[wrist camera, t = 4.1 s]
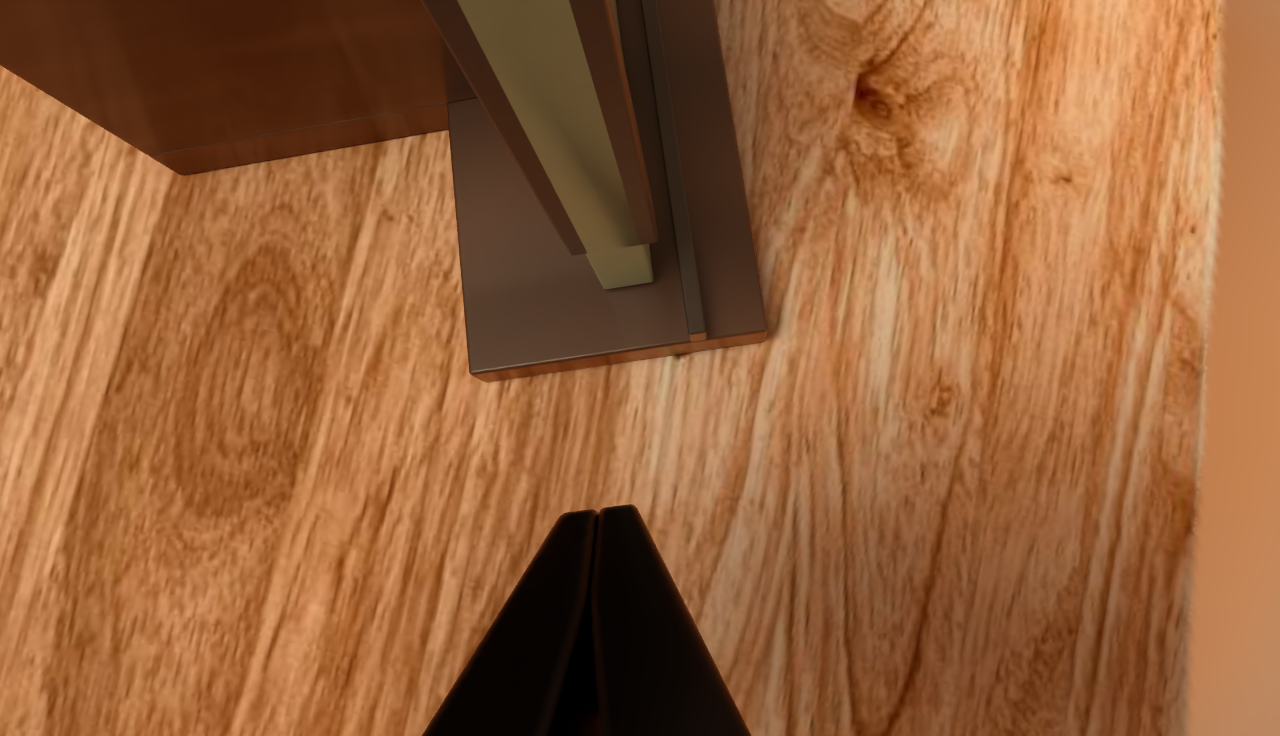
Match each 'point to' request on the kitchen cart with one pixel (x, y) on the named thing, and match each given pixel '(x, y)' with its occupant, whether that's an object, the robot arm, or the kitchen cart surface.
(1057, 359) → the kitchen cart surface
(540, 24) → the door
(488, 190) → the cabinet
